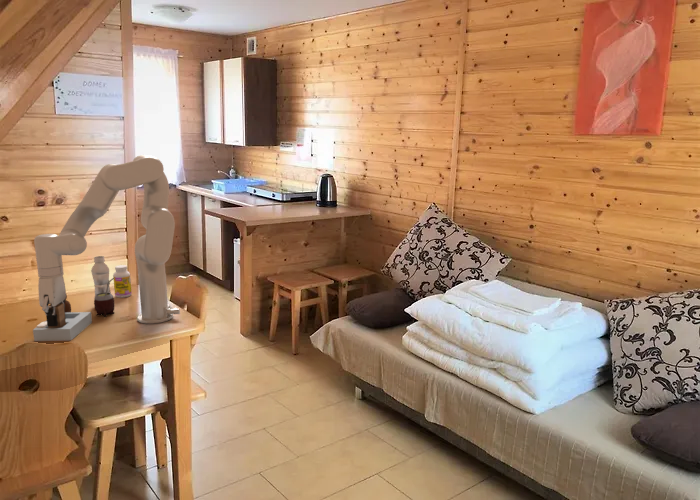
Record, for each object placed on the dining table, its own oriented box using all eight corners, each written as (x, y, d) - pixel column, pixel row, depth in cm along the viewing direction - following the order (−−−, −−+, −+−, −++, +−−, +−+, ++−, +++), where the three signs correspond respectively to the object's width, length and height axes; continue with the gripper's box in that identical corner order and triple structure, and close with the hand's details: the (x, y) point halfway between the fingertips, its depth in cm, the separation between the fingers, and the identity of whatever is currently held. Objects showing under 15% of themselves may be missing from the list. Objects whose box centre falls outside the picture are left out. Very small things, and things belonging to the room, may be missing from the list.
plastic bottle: (108, 308, 224) (104, 259, 220) (91, 308, 224) (86, 258, 220) (115, 303, 231) (111, 255, 226) (99, 303, 231) (94, 255, 226)
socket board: (92, 322, 208) (90, 310, 207) (71, 340, 191) (69, 327, 190) (58, 323, 208) (57, 311, 207) (34, 341, 190) (32, 328, 189)
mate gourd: (95, 312, 219) (92, 275, 216) (117, 310, 222) (114, 273, 219) (94, 318, 212) (90, 279, 209) (117, 316, 215) (114, 277, 212)
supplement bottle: (113, 298, 237) (111, 268, 235) (116, 294, 244) (113, 264, 241) (130, 297, 239) (128, 267, 236) (132, 293, 245) (130, 264, 243)
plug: (66, 331, 196) (63, 303, 194) (61, 335, 192) (58, 307, 190) (54, 331, 196) (51, 303, 194) (49, 335, 192) (46, 307, 190)
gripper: (51, 265, 198) (56, 315, 202) (26, 278, 181) (33, 332, 185) (73, 265, 198) (78, 314, 202) (50, 277, 181) (56, 331, 185)
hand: (56, 322), depth 193 cm, fingers open, 5 cm apart
